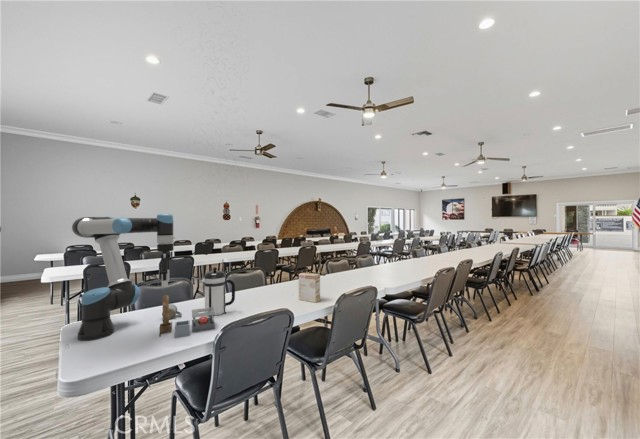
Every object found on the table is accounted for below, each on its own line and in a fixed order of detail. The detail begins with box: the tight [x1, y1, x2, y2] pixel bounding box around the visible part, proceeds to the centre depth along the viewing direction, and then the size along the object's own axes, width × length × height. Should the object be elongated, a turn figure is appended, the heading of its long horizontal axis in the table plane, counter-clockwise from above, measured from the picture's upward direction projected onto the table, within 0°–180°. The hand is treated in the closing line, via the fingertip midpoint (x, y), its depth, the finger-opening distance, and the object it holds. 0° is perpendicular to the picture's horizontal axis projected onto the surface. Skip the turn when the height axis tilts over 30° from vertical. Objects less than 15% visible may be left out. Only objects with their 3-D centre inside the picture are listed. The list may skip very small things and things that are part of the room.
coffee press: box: [201, 266, 236, 318], centre depth 180 cm, size 17×16×30 cm
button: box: [198, 316, 208, 323], centre depth 156 cm, size 4×4×5 cm
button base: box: [191, 307, 216, 333], centre depth 156 cm, size 11×11×10 cm
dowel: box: [162, 294, 170, 326], centre depth 150 cm, size 3×3×20 cm
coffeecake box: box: [298, 272, 321, 304], centre depth 211 cm, size 15×7×20 cm, turn 58°
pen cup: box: [174, 320, 191, 338], centre depth 146 cm, size 7×7×7 cm
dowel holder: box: [159, 321, 173, 337], centre depth 150 cm, size 5×5×5 cm
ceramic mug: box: [161, 303, 183, 320], centre depth 176 cm, size 11×8×8 cm
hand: (165, 284), depth 150 cm, fingers open, 13 cm apart
